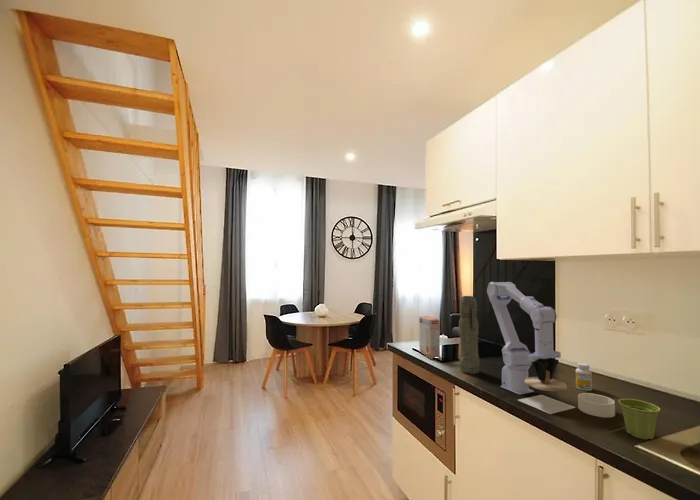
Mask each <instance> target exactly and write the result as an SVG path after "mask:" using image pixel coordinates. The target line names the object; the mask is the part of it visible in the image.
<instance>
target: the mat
mask: <svg viewBox="0 0 700 500" xmlns="http://www.w3.org/2000/svg"><path fill="white" fill-rule="evenodd" d="M517 401H518V402H520V403H522V404H524V405H525V404H526V405H528V406H530V407H533V408H536V409H537V410H540V411H542V412H543V413H544V412H545V413H547V414H550V415H552V414H556V413H561V412H564V411H568V410H572V409H575V408H577V407H576V406H573V405H571V404H568V403H565V402H563V401H560V400H557V399H554V398H552V397H549V396H546V395H544V394H539V395H533V396H530V397H528V396H527V397H524V398H520V399H517Z"/></svg>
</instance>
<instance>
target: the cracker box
mask: <svg viewBox="0 0 700 500" xmlns="http://www.w3.org/2000/svg"><path fill="white" fill-rule="evenodd" d="M418 319H419V320H418V321H419V322H418V324H419V325H418V326H419V331H418V332H419V335H418V336H419V338H418V339H419V345H418V346H419V349H418V350H419V352H421V353H422V354H424V355H426V356H427V357H429V358H435V357H440V353H441V352H440V351H441V350H440V342H441V341H440V340H441V339H440V319H437V318H434V317H431V316H428V315H427V316H426V315H425V316H423V315H422V316H419V318H418ZM422 354H421V355H422ZM424 355H423V356H424ZM427 357H426V358H427ZM429 358H428V359H429ZM440 358H441V357H440Z"/></svg>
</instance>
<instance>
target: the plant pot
mask: <svg viewBox="0 0 700 500" xmlns="http://www.w3.org/2000/svg"><path fill="white" fill-rule="evenodd" d="M617 402H618V404H619V405H620V406H619V407H620V409H621V412H622V416H623V421H624V426H625V430H626V431H625V432H626V433H627V434H629V435H631V436H632V437H635V438H637V439H641V440H648V439H649V440H653V439H655V433H656V432H655V429H656V423H657V418H658V415H659V413H660V412H661V408H660V407H659V406H657V405H655V404H653V403H651V402H647V401H644V400H640V399H632V398H621V399H618V400H617Z"/></svg>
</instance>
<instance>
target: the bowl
mask: <svg viewBox="0 0 700 500" xmlns="http://www.w3.org/2000/svg"><path fill="white" fill-rule="evenodd" d="M615 404H616V403H615V400H614V399H612V398H611V397H608V396H606V395H602V394H596V393H589V392H587V393H586V392H583V393H578V394H577V408H578V410H580V411H581V412H582V413H585V414H587V415H590V416H593V417H594V416H595V417H598V418H608V419H609V418H614V417H615V416H616V405H615Z"/></svg>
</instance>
